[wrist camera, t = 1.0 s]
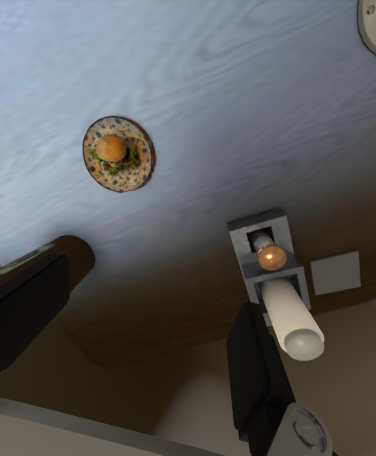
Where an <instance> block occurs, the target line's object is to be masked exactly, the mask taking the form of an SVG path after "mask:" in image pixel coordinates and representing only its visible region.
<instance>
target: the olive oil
mask: <svg viewBox="0 0 376 456" xmlns="http://www.w3.org/2000/svg"><path fill="white" fill-rule="evenodd" d="M52 252H57V253H61V254H65V255H66V256H67V258H68V259H69V294H70V293H71V292H72V290H73V289H74V288H75V287H76V286H77V285H78V284H79V283H80V281H81V280H82V279H83V278H84V277H85V276H86V275H87V274H88V273H89V271H90V270H91V269H92V268H93V266H94V262H95V258H94V254H93V251H92V250H91V248H90V247H89V246H88V244H86V243H85V242H84V241H83V240H81V239H79V238H77V237H74V236H61V237H59V238H57V239H55V240H53V241H51V242H49V243H48V244H46V245H44V246H42V247H40V248H38V249H36V250H34V251H32V252H30V253H28V254H27V255H25V256H23V257H21V258H19V259H17V260H15V261H13V262H11V263H9V264H7V265H5V266H3V267H1V268H0V286H1V285H3V284H4V283H6V282H7V281H9V280H10V279H12V278H14V277H15V276H17V275H18V274H20V273H21V272H23V271H24V270H26V269H27V268H29V267H30V266H32V265H33V264H35V263H36V262H38V261H39V260H41V259H42V258H44V257H45V256H47V255H48V254H50V253H52Z"/></svg>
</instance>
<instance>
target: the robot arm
mask: <svg viewBox="0 0 376 456" xmlns="http://www.w3.org/2000/svg"><path fill="white" fill-rule="evenodd" d="M358 24H359V30H360V34H361V36H362V38H363V41H364V42H365V44H366V45H367V46H368V48H369V49H370V50H371V51H373V52H374V53H375V54H376V0H359V5H358ZM69 297H70V296H69V259H68V258H67V256H66V255H65V254H61V253H57V252H52V253H50V254H48V255H47V256H45V257H44V258H42V259H41V260H39V261H38V262H36V263H35V264H33V265H32V266H30V267H29V268H27V269H26V270H24V271H23V272H21V273H20V274H18V275H17V276H15V277H14V278H12V279H10V280H9V281H7V282H6V283H4V284H3V285H1V286H0V372H1V371H2V370H5V369H7V368H8V367H9V366H10V365H11V364H12V363H13V362H14V361H15V360H16V359H17V357H18V356H19V355H20V354H21V353H22V352H23V351H24V350H25V349H26V348H27V347H28V345H29V344H30V343H31V342H32V341H33V340H34V339H35V338H36V337H37V336H38V334H39V333H40V332H41V331H42V330H43V329H44V328H45V327H46V326H47V325H48V324H49V322H50V321H51V320H52V319H53V318H54V317H55V316H56V315H57V314H58V313H59V312H60V311H61V309H62V308H63V307H64V306H65V305H66V304H67V302H68V300H69ZM226 347H227V357H228V367H229V378H230V387H231V388H230V389H231V399H232V409H233V420H234V426H235V428H236V429H238V433H239V440H241V441H246V442H249V449H250V453H251V454H252V455H251V456H338V455H337V454H336V453H335V452H334V451H333V450H332V442H331V438H330V435H329V433H328V431H327V429H326V427H325V425H324V424H323V422H322V421H321V419H320V418H319V417H318V416H317V415H316V414H315V413H314V412H313V411H312V410H311V409H310V408H308V407H307V406H305V405H303V404H301V403H297V402H296V401H295V397H294V395H293V392H292V389H291V386H290V383H289V380H288V377H287V375H286V372H285V369H284V366H283V363H282V360H281V357H280V355H279V352H278V349H277V346H276V343H275V340H274V338H273V337H272V336H271V335H270V334H269V331H268V328H267V325H266V322H265V319H264V316H263V313H262V310H261V307H260V305H259V304H257V303H253V302H249V301H247V302H246V303H243V304H242V306H241V308H240V311H239V313H238V315H237V317H236V319H235V322H234V324H233V326H232V328H231V330H230V333H229V335H228V337H227V342H226ZM0 456H224V455H221V454H217V453H214V452H210V451H207V450H203V449H200V448H196V447H192V446H189V445H185V444H181V443H177V442H173V441H169V440H165V439H161V438H158V437H154V436H150V435H146V434H142V433H138V432H135V431H131V430H127V429H123V428H119V427H115V426H111V425H107V424H103V423H99V422H95V421H92V420H88V419H84V418H80V417H76V416H72V415H68V414H64V413H60V412H56V411H52V410H48V409H44V408H40V407H36V406H32V405H27V404H23V403H20V402H15V401H12V400H8V399H3V398H0Z"/></svg>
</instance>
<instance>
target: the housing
mask: <svg viewBox="0 0 376 456" xmlns="http://www.w3.org/2000/svg"><path fill="white" fill-rule="evenodd" d="M227 225H228V229H229V233H230V236H231V239H232V242H233V246H234V249H235V252H236V255H237V258H238V262H239V265H240V268H241V271H242V275H243V278H244V281H245V284H246V288H247V291H248V294H249V297H250V301H251V302H253V303H257V304H259V305H260V307H261V310H262V313H263V316H264V319H265V322H266V325H267V326H273V325H272V322H271V319H270V317H269V314H268V311H267V309H266V306H265V303H264V300H263V298H262V295H261V292H260V290H259V287H258V284H257V282H260V281H265V280H269V279H274V278H278V277H283V276H287V278H288V279H289V281H290V283H291V284H292V286H293V287H294V289H295V291H296V292H297V294H298V295H299V297H300V299H301V300H302V302H303V303H304V305H305V306H306V308H307V310H311V307H310V302H309V296H308V290H307V285H306V279H305V274H304V268H303V265H302V264H301V263H300V262H299V260H298V259H297V258H296V257H295V256H294V251H293V246H292V241H291V236H290V231H289V225H288V220H287V215H285V214H284V213H283V212H282V211H281V210H279V209H278V208H277V209H273V210H270V211H267V212H263V213H260V214H256V215H253V216H250V217H246V218H243V219H239V220H236V221H233V222H229V223H227ZM265 227H267V231H268V235H269V236H270V238H271V239H272V241H273V242H274V243H275V244H276V245H278V246H280V247H281V248H282V249H283V251H284V252H285V253H286V256H287V259H286V262H285V264H284V265H283V266H282V267H281V268H279V269H277V270H272V271H270V270H266V269H264V268H262V267H261V266H260V264H259V262H258V259H257V254H258V253H257V251H256V249H255V247H254V245H253V243H252V242H248V238H247V235H246V233H247V232H251V231H254V230H258V229H262V228H265Z"/></svg>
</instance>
